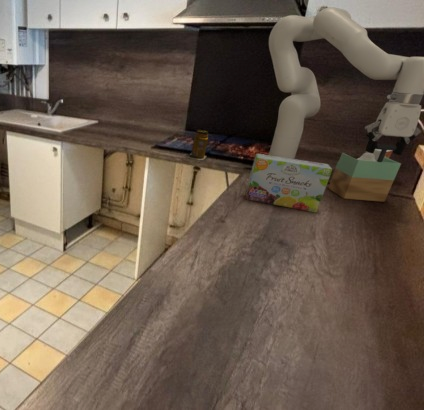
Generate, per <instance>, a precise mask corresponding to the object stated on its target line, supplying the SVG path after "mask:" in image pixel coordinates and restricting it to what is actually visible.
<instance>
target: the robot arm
mask: <svg viewBox="0 0 424 410" xmlns="http://www.w3.org/2000/svg"><path fill="white" fill-rule="evenodd" d="M322 39H325V40H326V41H327V42H329V44H331V45H332V46H333V47H335V48H336V49H337V50H338V51H340V52H341V53H342V55H343V56H344V57H345V58H346V60H347V61H348V62H349V63H350V64H351V65H352V66H353V67H354V68H356V69H357V70H358V71H359V72H360V73H362V74H363V75H364V76H366V77H368V79H371V80H375V81H391V80H392V81H393V80H395V81H396V82H395V84H394V87H393V89H392V91H391V94H388V95H387V96H386V98H387V100H388V101H387V102H386V103H385V104H384V105H383V107H382V108H381V111H380V112H379V113H378V116H377V118H376V120H375V121H374V122H372V123H370V124H367V125H365V126H364V131H365V135H366V137H367V140H368V141H367V144H366V146H365V152H366V151H367V152H369V153H374V151H375V148H376V146H377V144H379V143H378V142H379V141H378V140H379V139H380V138H381V137H383V136H385V137H397V138H398V139H399V140H397V142H396V144H395V145H394V146H396V150H393V151H392V154H395V155H396V156H397V155H398V156H402V155H403V152H404V151H405V148H406V146H407V144H409V143H410V142H411V141H413V140H414V139H416V137H417V136H418V135H419V134H421V133H422V130H421V129H420V128H419V127H418V123H419V119H420V116H421V112H422V105H420V103H421V101H422V100H423V97H424V56H410V57H409V56H403V55H398V54H391V53H387V52H386V51H384V50H383V49H382V48H380V47H379V46H378V45H376V44H375V43H374V42H373V41H372V40H371V39H370V38H369V36H368V31H367V29H366V28H365V27H363V26H362V25H361V24H360V23H358V22H356V21H355V20H354V19H352V16H351V14H350V13H349V11H347V10H346V9H343V8H338V7H334V6H333V7H332V6H330V7H329V6H328V7H325V8H323V9H321V10H320V11H318V12H317V13H316V15H314V16H308V17H307V16H303V15H296V14H290V15H286V16H284V17H282V18H280V19H279V20H278V21H277V22H276V23H275V24H274V26H273V27H272V29H271V31H270V34H269V36H268V49H269V53H270V56H271V57H270V58H271V61H272V65H273V70H274V75H275V81H276V84H277V87H278V89H279V91H281V92H283V93H291V95H289V96H287V97H285V98H284V99H283V100H282V101H281V103H280V105H279V108H278V114H277V115H278V116H277V122H276V126H275V130H274V134H273V138H272V141H271V145H270V149H269V152H268V155H270V156H277V157H284V158H290V159H296V155H297V151H298V149H299V146H300V142H301V139H302V135H303V132H304V126H305V125H304V124H305V119H310V118H312V117H314V116H316V115H317V114H318V113H319V111H320V109H321V105H322V103H321V97H320V93H319V88H318V84H317V79H316V76H315V74H314V72H313V71H312V70H311V69H310V68H308V67H305V66H301V64H300V61H299V54H298V52H297V49H296V47H295V45H294V42H298V43H299V42H300V43H301V42H310V41H316V40H322Z"/></svg>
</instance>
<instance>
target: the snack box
mask: <svg viewBox="0 0 424 410" xmlns="http://www.w3.org/2000/svg"><path fill="white" fill-rule="evenodd" d="M251 167H252V168H251V170H250V174H249V179H248V181H247V185H246V186H247V187H246V189H245V200H248V201H254V202H260V203H265V204H270V205H275V206H279V207H285V208H290V209H295V210H301V211H305V212H310V213H317V212H318V209H319V206H320V204H321V201H322V199H323V197H324V193H325V191H326V188H327V186H328V183H329V180H330V178H331V176H332V172H333V168H332V167H331V166H330V164H329V163H323V162H316V161H311V160H310V161H309V160H303V159H298V158H297V159H296V158H294V159H290V158H284V157H277V156H270V155H269V154H262V153H256V154H255V157H254V160H253V163H252V166H251Z"/></svg>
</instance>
